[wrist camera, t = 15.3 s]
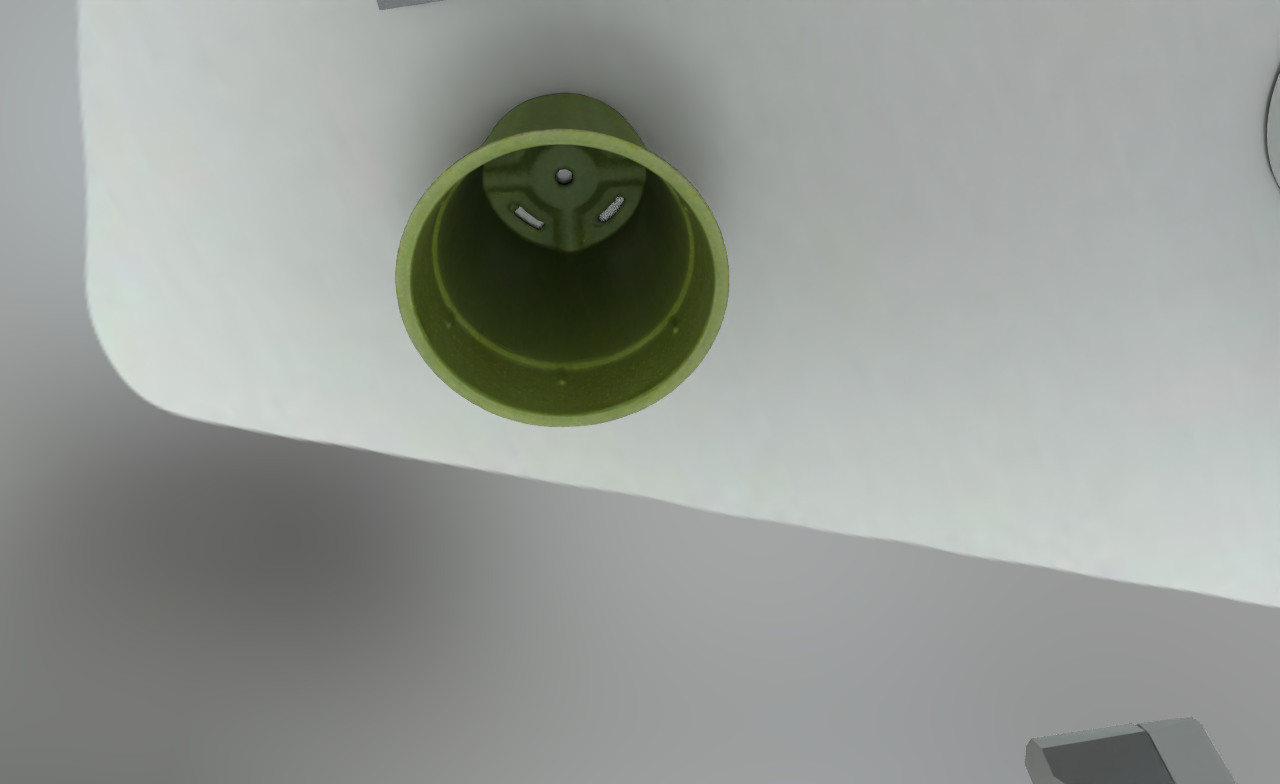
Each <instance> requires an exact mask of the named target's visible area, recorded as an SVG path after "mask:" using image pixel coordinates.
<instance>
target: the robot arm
mask: <svg viewBox="0 0 1280 784" xmlns="http://www.w3.org/2000/svg"><path fill="white" fill-rule="evenodd" d="M1267 146H1268V154H1269V159H1270V164H1271V167H1272V171H1273V174H1274V176H1275V179H1276V181H1277V183H1278V185H1279V187H1280V74H1279V76H1278V79H1277V82H1276V85H1275V88H1274V91H1273V95H1272V99H1271V104H1270V108H1269V115H1268V124H1267ZM1025 765H1026V768H1027V770H1028V773H1029V775H1030V778H1031V780H1032V783H1033V784H1237V783H1236V781H1235V779H1234V777H1233V776H1232V774H1231V772H1230V771H1229V769H1228V767H1227V765H1226V764H1225V762H1224V760H1223V759H1222V757H1221V755H1220V754H1219V752H1218V750H1217V749H1216V747H1215V745H1214V743H1213V742H1212V740H1211V738H1210V737H1209V735H1208V733H1207V732H1206V730H1205V728H1204V727H1203V725H1202V724H1200V723H1199V722H1198V721H1197V720H1196V719H1194V718H1193V717H1180V718H1174V719H1167V720H1160V721H1154V722H1147V723H1141V724H1136V725H1135V724H1133V723H1129V724H1123V725H1116V726H1110V727H1103V728H1097V729H1090V730H1083V731H1077V732H1071V733H1063V734H1057V735H1051V736H1044V737H1037V738H1031V740H1030V741H1029V743H1028V745H1027V747H1026V758H1025Z"/></svg>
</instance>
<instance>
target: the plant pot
mask: <svg viewBox="0 0 1280 784" xmlns="http://www.w3.org/2000/svg"><path fill="white" fill-rule="evenodd" d="M561 169H568V170H569V171H571V172H572V178H573V179H572V181H571V182H570V183H569V184H567V185H561V184H559V183H558V182H557V180H556V174H557V172H558V171H559V170H561ZM622 191H623V192H622ZM619 193H620V194H619ZM618 194H619V196H618ZM617 196H618V197H623V198H624V199H625V201H624V203H623V204H622V206H621V207H620V209H619V210H618V212H616V213H615V215H614V216H613V217H611V218H610V219H609V220H608V221H607V222H605V223H602V222H600V221H599V219H598V218H599V215H600V214H601V213H603V212H604V211H605V210H606V209H607V208H608V207H609V206H610V205H611V204H612V203H613V202H614V201H616V199H615V198H616V197H617ZM519 206H521V207H522V208H523V209H524V210H525V211H526V212H528V213H529V214H530V215H532V216H533V217H534V218H536V219H537V220H539V221H542V222H545V225H544V226H543V227H542V228H541V229H540V230H538V229H536V228H533V227H531V226H530V225H528V224H527V223H526V222H524V221H522V220H520V218H518V217H517V216H516V215H515V214H514V211H515V210H516V209H518V208H519ZM584 232H585V236H583V235H584ZM395 280H396V292H397V299H398V304H399V309H400V313H401V316H402V319H403V322H404V325H405V328H406V330H407V332H408V335H409V337H410V339H411V341H412V343H413V344H414V346H415V348H416V349H417V351H418V352H419V353H420V355H421V356H422V358H423V359H424V361H425V362H426V363H427V364H428V366H429V367H430V368H431V369H432V370H433V372H434V373H435V374H436V375H437V376H438V377H439V378H440V379H441V380H442V381H443V382H444V383H446V384H447V385H448V386H449V387H450V388H451V389H453V390H454V391H455V392H457V393H458V394H460V395H461V396H462V397H464V398H465V399H467V400H469V401H470V402H472V403H473V404H475V405H478V406H479V407H481V408H483V409H484V410H487V411H489V412H491V413H493V414H496V415H498V416H501V417H504V418H507V419H510V420H514V421H518V422H522V423H526V424H532V425H539V426H548V427H570V426H585V425H593V424H599V423H603V422H608V421H612V420H615V419H619V418H622V417H625V416H627V415H630V414H633V413H635V412H638V411H640V410H642V409H644V408H646V407H648V406H650V405H652V404H654V403H656V402H657V401H659V400H660V399H662V398H663V397H665V396H666V395H668V394H669V393H670V392H672V391H673V390H674V389H675V388H676V387H678V386H679V385H680V384H681V383H682V382H683V381H684V380H685V379H686V378H687V377H688V376H689V375H691V373H692V372H693V371H694V370H695V369H696V368H697V366H698V365H699V364H700V363H701V361H702V360H703V359H704V357H705V356H706V354H707V352H708V351H709V349H710V348H711V346H712V344H713V342H714V340H715V338H716V336H717V334H718V331H719V329H720V327H721V324H722V321H723V318H724V314H725V310H726V306H727V301H728V293H729V265H728V259H727V253H726V248H725V244H724V241H723V238H722V234H721V231H720V229H719V227H718V224H717V222H716V220H715V218H714V216H713V214H712V212H711V210H710V209H709V207H708V205H707V204H706V202H705V200H704V199H703V198H702V197H701V195H700V194H699V193H698V191H697V190H696V189H695V188H694V187H693V186H692V184H691V183H690V182H689V181H688V180H687V179H686V178H685V177H684V176H683V175H682V174H681V173H679V172H678V171H677V170H676V169H675V168H674V167H673V166H671V165H670V164H669V163H667V162H666V161H664V160H663V159H662V158H660V157H658V156H657V155H655V154H653V153H652V152H650V151H648V150H647V149H646V147H645V145H644V144H643V142H642V141H641V139H640V138H639V136H638V135H637V134H636V132H635V131H634V129H633V128H632V127H631V125H630V124H629V123H628V122H627V121H626V120H625V119H624V118H623V117H622V116H621V115H620V114H619V113H618V112H617V111H615V110H614V109H613V108H611V107H610V106H608V105H606V104H604V103H602V102H600V101H598V100H596V99H593V98H590V97H587V96H584V95H579V94H569V93H565V94H553V95H547V96H542V97H537V98H533V99H530V100H528V101H526V102H524V103H522V104H520V105H518V106H517V107H515V108H514V109H513V110H511V111H510V112H509V113H508V114H507V115H505V116H504V117H503V118H502V119H501V120H500V121H499V123H498V124H497V125H496V126H495V128H494V129H493V131H492V132H491V133H490V135H489V136H488V138H487V139H486V141H485V142H484V143H483V145H482V146H481V147H480V148H478V149H476V150H475V151H473V152H471V153H469V154H468V155H466V156H464V157H463V158H461V159H460V160H459V161H457V162H456V163H454V164H453V165H452V166H451V167H450V168H448V169H447V170H446V171H445V172H444V173H443V174H442V175H441V176H440V177H439V178H438V179H437V180H436V181H435V182H434V183H433V184H432V185H431V186H430V187H429V188H428V190H427V191H426V192H425V193H424V195H423V196H422V197H421V199H420V200H419V202H418V203H417V205H416V206H415V208H414V210H413V212H412V214H411V216H410V218H409V220H408V222H407V224H406V227H405V229H404V232H403V235H402V238H401V241H400V246H399V250H398V255H397V261H396V272H395Z"/></svg>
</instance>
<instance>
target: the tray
mask: <svg viewBox="0 0 1280 784" xmlns="http://www.w3.org/2000/svg"><path fill="white" fill-rule="evenodd" d="M436 1H442V0H377V2H378V6H379V10H383V9H390V8H396V7H403V6H409V5H416V4H423V3H429V2H436Z"/></svg>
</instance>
